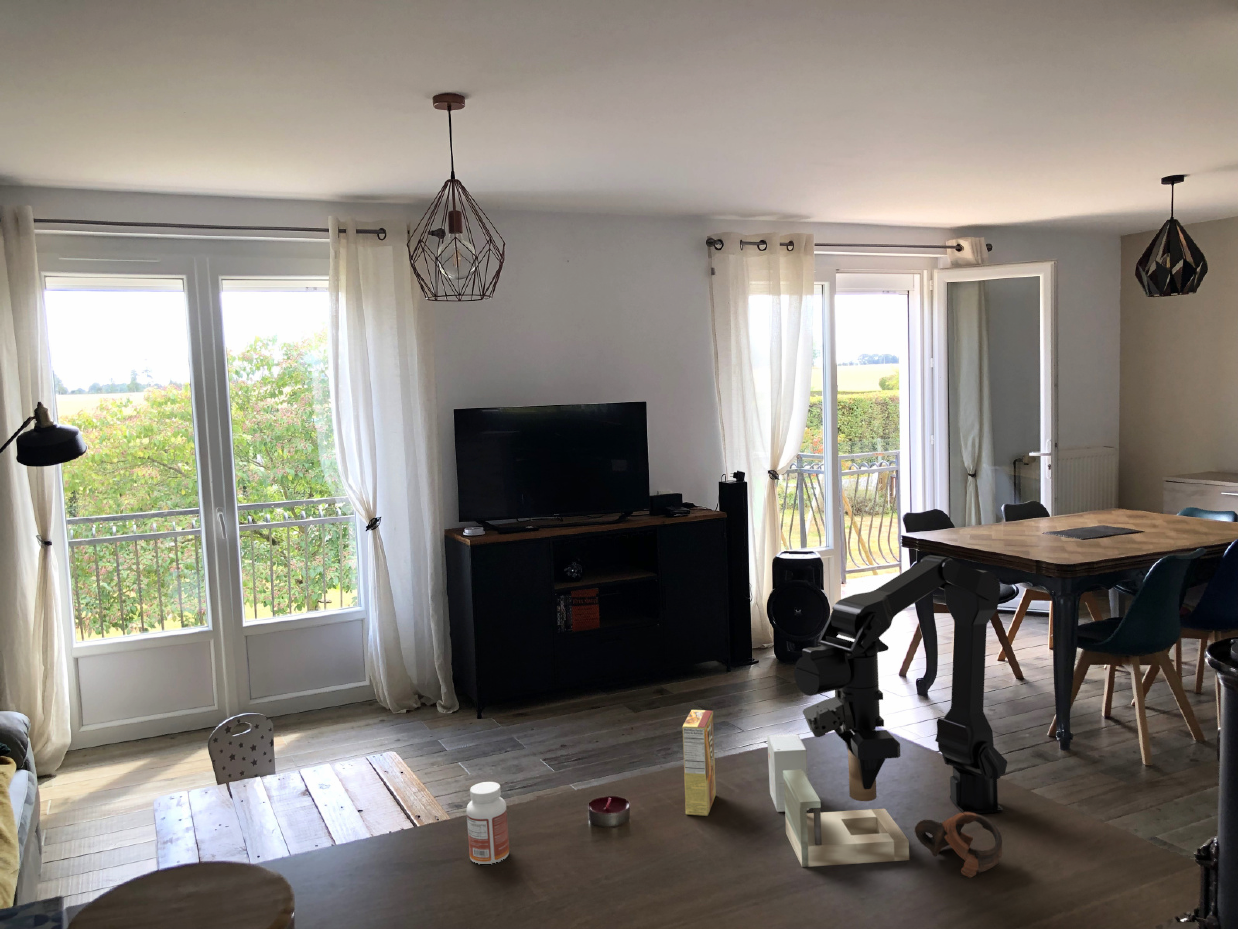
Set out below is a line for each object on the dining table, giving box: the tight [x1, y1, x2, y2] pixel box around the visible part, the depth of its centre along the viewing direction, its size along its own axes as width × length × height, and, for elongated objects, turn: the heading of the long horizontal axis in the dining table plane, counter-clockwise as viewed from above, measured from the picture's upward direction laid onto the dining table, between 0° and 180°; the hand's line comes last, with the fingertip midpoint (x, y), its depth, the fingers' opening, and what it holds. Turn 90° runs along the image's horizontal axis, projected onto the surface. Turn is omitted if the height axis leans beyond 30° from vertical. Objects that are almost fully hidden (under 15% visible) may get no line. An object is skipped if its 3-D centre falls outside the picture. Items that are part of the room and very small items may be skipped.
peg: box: [847, 749, 877, 802], centre depth 141 cm, size 4×4×7 cm
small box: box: [766, 733, 810, 813], centre depth 158 cm, size 8×6×10 cm
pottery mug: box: [914, 812, 1003, 879], centre depth 135 cm, size 12×10×8 cm
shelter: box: [783, 769, 910, 868], centre depth 142 cm, size 16×12×10 cm
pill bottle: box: [466, 781, 510, 865], centre depth 144 cm, size 6×6×11 cm
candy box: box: [682, 709, 716, 817], centre depth 159 cm, size 9×4×15 cm, turn 166°
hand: (862, 783), depth 142 cm, fingers closed on peg, 4 cm apart
